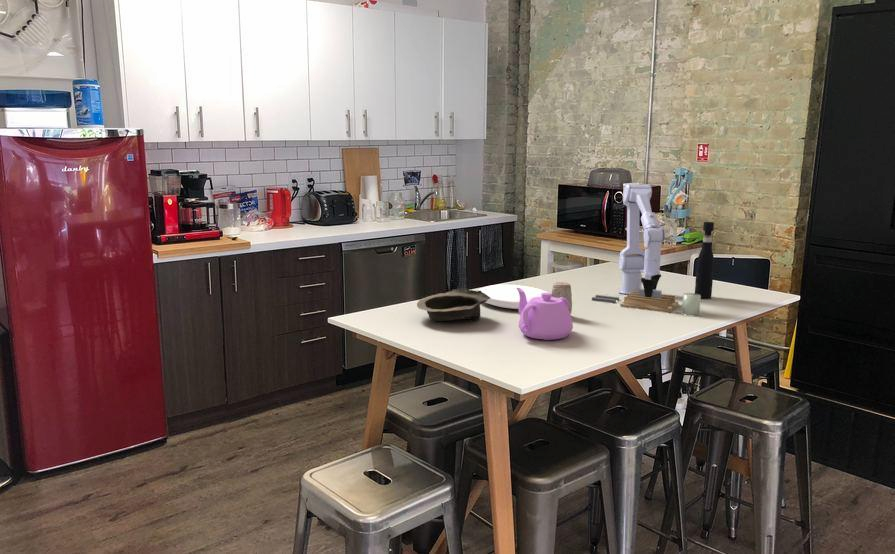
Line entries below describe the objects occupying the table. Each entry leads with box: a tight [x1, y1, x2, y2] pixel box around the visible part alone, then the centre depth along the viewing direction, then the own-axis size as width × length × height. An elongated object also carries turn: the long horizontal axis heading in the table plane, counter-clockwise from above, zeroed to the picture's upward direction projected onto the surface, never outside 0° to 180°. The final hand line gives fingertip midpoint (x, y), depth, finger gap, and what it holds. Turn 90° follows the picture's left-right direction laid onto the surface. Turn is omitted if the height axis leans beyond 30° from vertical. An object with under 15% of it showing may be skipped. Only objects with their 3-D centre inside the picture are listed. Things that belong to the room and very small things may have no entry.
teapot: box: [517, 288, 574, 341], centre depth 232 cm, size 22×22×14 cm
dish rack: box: [619, 291, 679, 313], centre depth 272 cm, size 15×18×4 cm
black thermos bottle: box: [694, 221, 715, 300], centre depth 284 cm, size 6×6×30 cm
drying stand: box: [591, 294, 620, 304], centre depth 281 cm, size 6×9×1 cm
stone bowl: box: [416, 288, 490, 322], centre depth 249 cm, size 25×25×9 cm
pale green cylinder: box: [681, 292, 702, 316], centre depth 260 cm, size 6×6×7 cm
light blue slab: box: [639, 287, 663, 299], centre depth 272 cm, size 2×8×5 cm, turn 65°
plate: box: [477, 284, 549, 310], centre depth 273 cm, size 28×6×27 cm
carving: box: [551, 281, 573, 315], centre depth 254 cm, size 6×8×12 cm
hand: (650, 295), depth 272 cm, fingers open, 7 cm apart
